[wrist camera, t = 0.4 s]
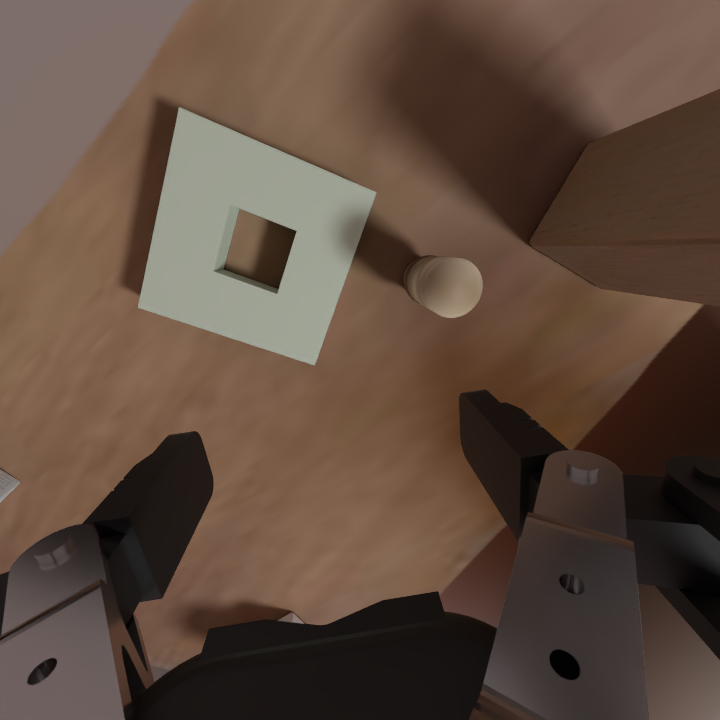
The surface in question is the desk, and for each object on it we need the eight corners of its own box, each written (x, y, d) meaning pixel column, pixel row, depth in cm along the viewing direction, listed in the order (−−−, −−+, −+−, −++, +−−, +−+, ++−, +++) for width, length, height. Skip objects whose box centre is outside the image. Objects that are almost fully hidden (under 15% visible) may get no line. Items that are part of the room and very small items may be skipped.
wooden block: (601, 290, 36) (896, 335, 17) (524, 244, 34) (764, 238, 15) (665, 196, 34) (1085, 131, 15) (586, 141, 32) (959, -16, 13)
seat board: (194, 121, 29) (179, 107, 26) (372, 197, 32) (376, 192, 29) (154, 302, 33) (137, 307, 30) (315, 356, 36) (314, 365, 33)
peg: (408, 248, 34) (439, 247, 24) (448, 264, 34) (493, 270, 25) (391, 290, 35) (414, 306, 25) (430, 305, 36) (467, 326, 26)
